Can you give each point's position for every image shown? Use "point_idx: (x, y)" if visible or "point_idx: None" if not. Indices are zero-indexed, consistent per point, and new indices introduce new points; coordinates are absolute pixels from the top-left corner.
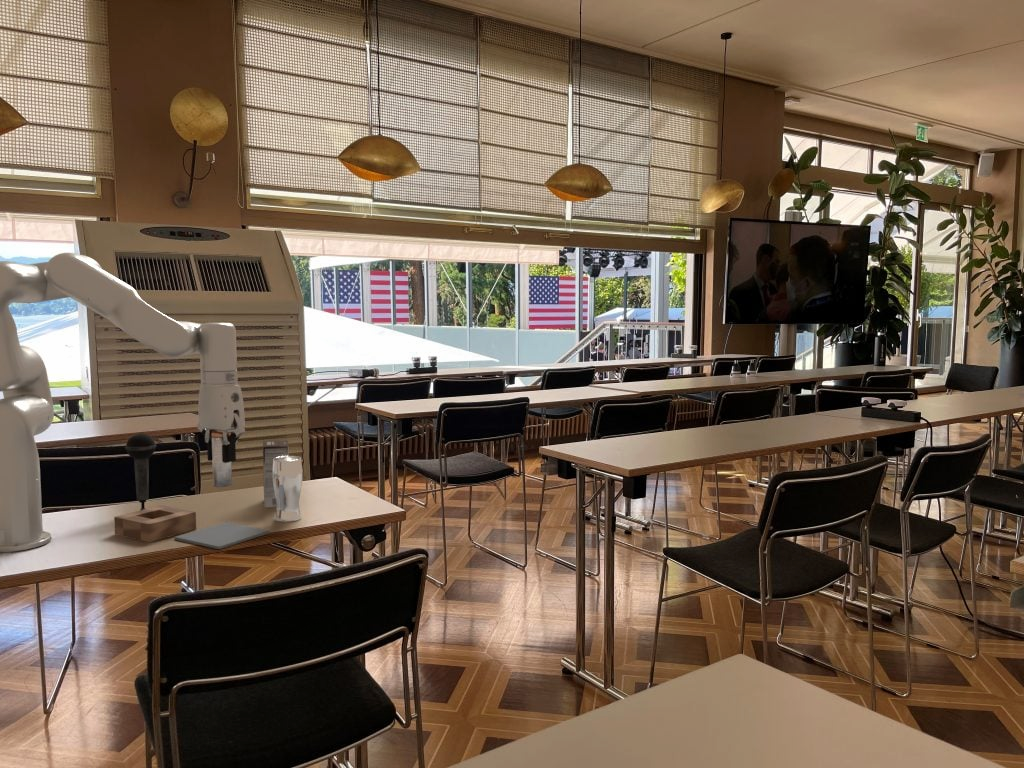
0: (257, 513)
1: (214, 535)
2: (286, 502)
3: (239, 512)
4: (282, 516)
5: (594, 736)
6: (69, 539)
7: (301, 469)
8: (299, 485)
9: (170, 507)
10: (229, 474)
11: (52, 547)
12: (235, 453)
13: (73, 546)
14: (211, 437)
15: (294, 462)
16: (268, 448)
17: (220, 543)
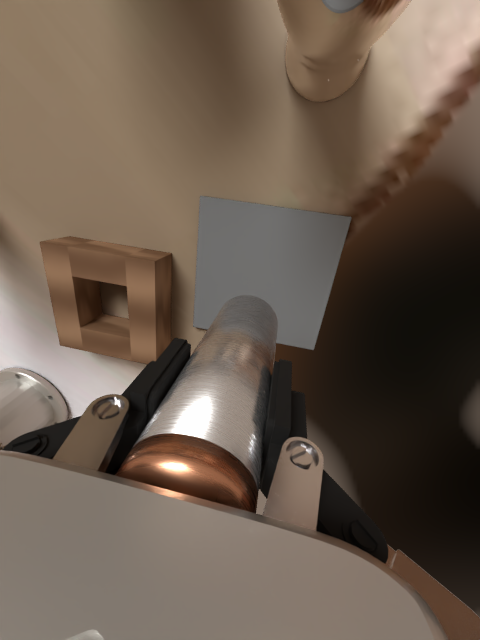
0: (194, 42)
1: (254, 295)
2: (353, 63)
3: (140, 63)
4: (330, 92)
5: None
6: (59, 367)
7: None
8: None
9: (73, 250)
10: (275, 346)
11: (79, 398)
12: (290, 381)
13: (96, 389)
14: (114, 458)
15: None
16: None
17: (302, 334)
